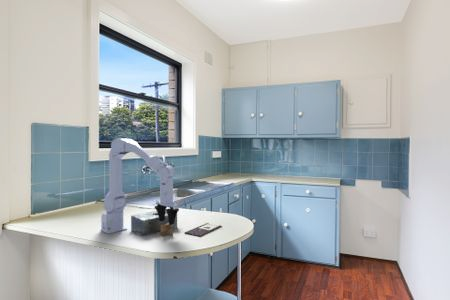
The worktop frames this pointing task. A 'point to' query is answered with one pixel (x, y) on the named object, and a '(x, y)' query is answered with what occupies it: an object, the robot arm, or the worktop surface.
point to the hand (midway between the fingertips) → (166, 222)
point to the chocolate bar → (203, 229)
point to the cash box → (149, 223)
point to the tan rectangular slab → (166, 230)
